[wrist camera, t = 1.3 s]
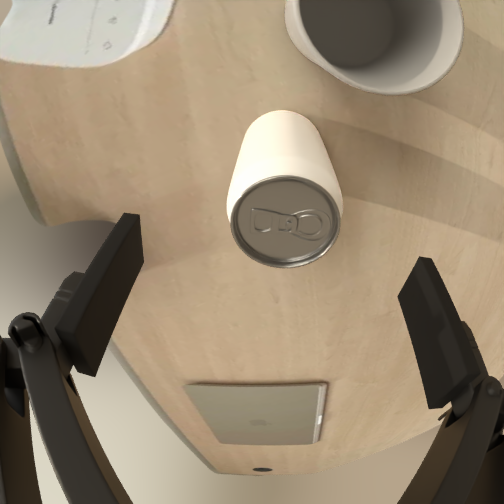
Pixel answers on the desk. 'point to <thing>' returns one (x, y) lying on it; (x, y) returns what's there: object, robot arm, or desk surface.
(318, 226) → the can
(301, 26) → the mug
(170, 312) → the desk surface
